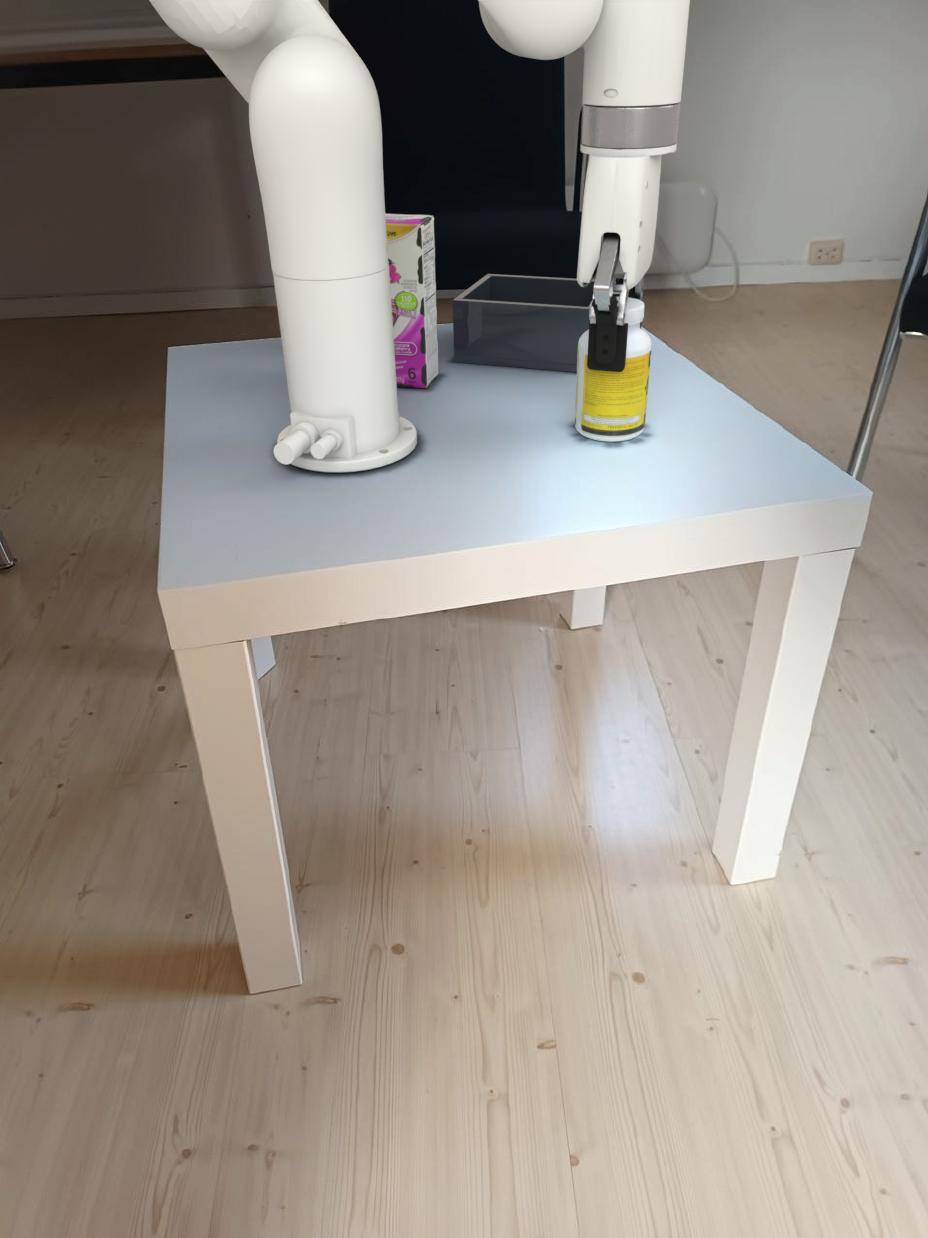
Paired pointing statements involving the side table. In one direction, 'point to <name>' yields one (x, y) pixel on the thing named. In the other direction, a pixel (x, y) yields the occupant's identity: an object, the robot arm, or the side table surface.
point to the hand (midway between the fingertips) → (614, 355)
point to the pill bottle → (615, 386)
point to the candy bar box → (413, 298)
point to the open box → (521, 321)
